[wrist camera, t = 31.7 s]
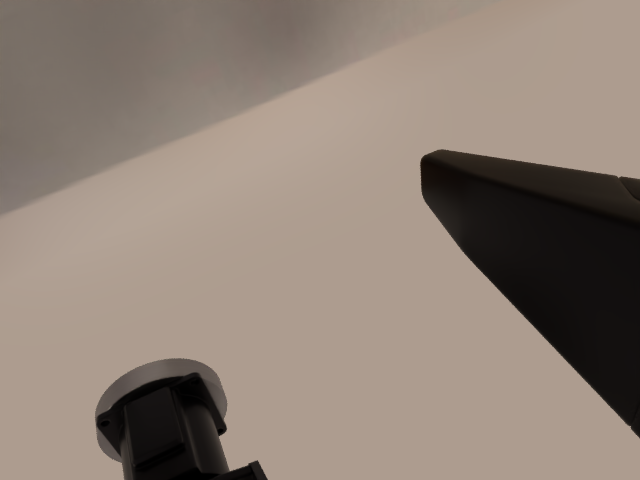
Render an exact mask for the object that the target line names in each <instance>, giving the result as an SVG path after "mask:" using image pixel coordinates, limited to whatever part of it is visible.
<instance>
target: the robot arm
mask: <svg viewBox="0 0 640 480" xmlns="http://www.w3.org/2000/svg"><path fill="white" fill-rule="evenodd" d="M420 164H421V165H420V166H421V189H422V195H423V198H424V200H425V202H426V203H427V205H428V206H429V208H430V209H431V210H432V212H433V213H434V214H435V215H436V217H437V218H438V219H439V221H440V222H441V223H442V225H443V226H444V227H445V229H446V230H447V231H448V233H449V234H450V235H451V237H452V238H453V239H454V241H455V242H456V243H457V245H458V246H459V247H460V248H461V250H462V251H463V252H464V253H465V255H466V256H467V257H468V258H469V259H470V260H471V261H472V262H473V263H474V264H475V265H476V267H477V268H478V269H479V270H480V271H481V272H482V273H483V274H484V275H485V276H486V277H487V278H488V279H489V280H490V281H491V282H492V283H493V284H494V285H495V286H496V287H497V289H498V290H500V292H501V293H502V294H503V295H504V296H505V297H506V298H507V299H508V300H509V301H510V302H511V303H512V304H513V305H514V306H515V307H516V308H517V310H518V311H519V312H520V313H521V314H522V315H524V317H525V318H526V319H527V320H528V321H529V322H530V323H531V324H532V325H533V326H534V327H535V328H536V329H537V330H538V331H539V333H540V334H541V335H542V336H543V337H544V338H545V339H546V340H547V341H548V342H549V343H550V344H551V345H552V346H553V347H554V348H555V349H556V350H557V351H558V352H559V354H561V356H563V358H564V359H565V360H566V361H567V362H568V363H569V364H570V365H571V366H572V367H573V368H574V369H575V370H576V371H577V372H578V373H579V374H580V375H581V376H582V378H583V379H584V380H585V381H586V382H587V383H588V384H589V385H590V386H591V387H592V388H593V389H594V390H595V391H596V392H597V393H598V394H599V395H600V396H601V397H602V399H603V400H604V401H605V402H606V403H607V404H608V405H609V406H610V407H611V408H612V409H613V410H614V411H615V412H616V413H617V414H618V415H619V416H620V417H621V419H622V420H623V421H624V422H625V423H626V424H627V425H629V426H631V429H632V430H633V431H634V433H635V434H636V435H637V436H638V437H639V438H640V179H635V178H628V177H619V178H618V177H617V176H614V175H608V174H601V173H594V172H588V171H581V170H574V169H568V168H562V167H555V166H548V165H542V164H535V163H528V162H522V161H515V160H507V159H501V158H495V157H488V156H482V155H475V154H469V153H462V152H456V151H449V150H437V151H434V152H432V153H429V154H427V155H424V156H423V157H422V159H421V163H420ZM193 380H195V381H193ZM105 420H107V421H105ZM96 426H97V428H98V429H99V430H100V432H101V433H102V434H103V435H104V437H105V438H106V439H107V440H108V442H109V443H110V444H111V445H112V447H113V448H114V449H115V450H116V452H117V453H118V454H119V456H120V457H121V458H122V465H123V472H124V480H268V479H267V478H266V476H265V474H264V472H263V470H262V468H261V466H260V464H259V462H258V461H254V462H252V463H249V464H248V465H247V466H245V467H242V468H239V469H236V470H233V471H229V468H228V465H227V461H226V458H225V455H224V452H223V449H222V446H221V442H220V439H219V436H220V435H222V434H224V433H225V432H226V430H227V428H226V424H225V422H224V420H223V418H222V416H221V414H220V412H219V410H218V408H217V406H216V404H215V402H214V400H213V398H212V396H211V394H210V392H209V390H208V388H207V386H206V384H205V382H204V380H203V378H202V376H201V374H200V373H198V372H193V373H190V374H188V375H185V376H183V377H181V378H179V379H176V380H174V381H172V382H170V383H168V384H165V385H163V386H161V387H159V388H157V389H154V390H152V391H150V392H148V393H145V394H143V395H141V396H139V397H137V398H134V399H132V400H130V401H128V402H125V403H123V404H121V405H119V406H117V407H114V408H112V409H110V410H108V411H105V412H103V413H101V414H99V415H98V416H97V417H96Z"/></svg>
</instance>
